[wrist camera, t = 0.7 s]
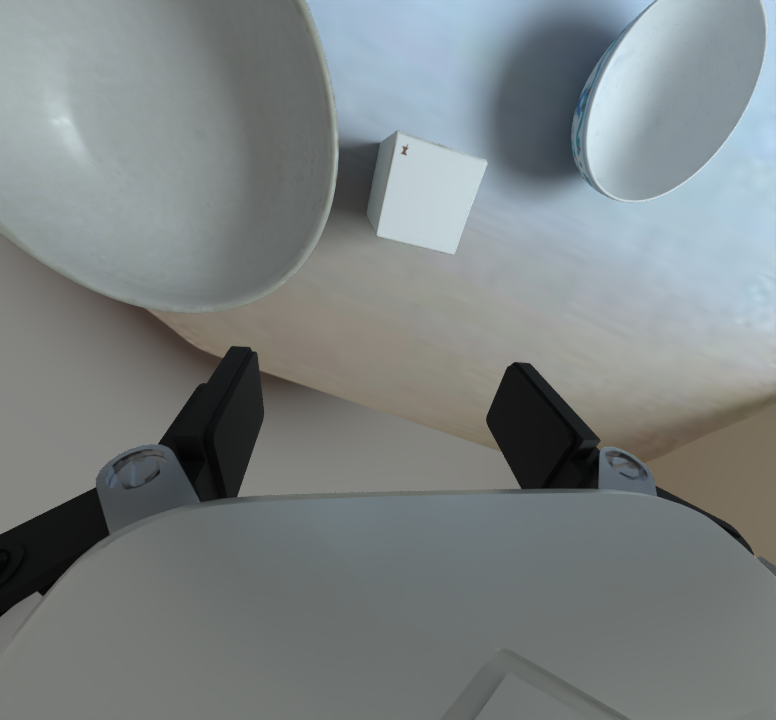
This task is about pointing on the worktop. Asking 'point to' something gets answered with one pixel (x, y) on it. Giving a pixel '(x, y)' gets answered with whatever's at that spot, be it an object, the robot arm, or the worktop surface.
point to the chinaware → (668, 95)
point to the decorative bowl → (166, 145)
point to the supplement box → (422, 192)
